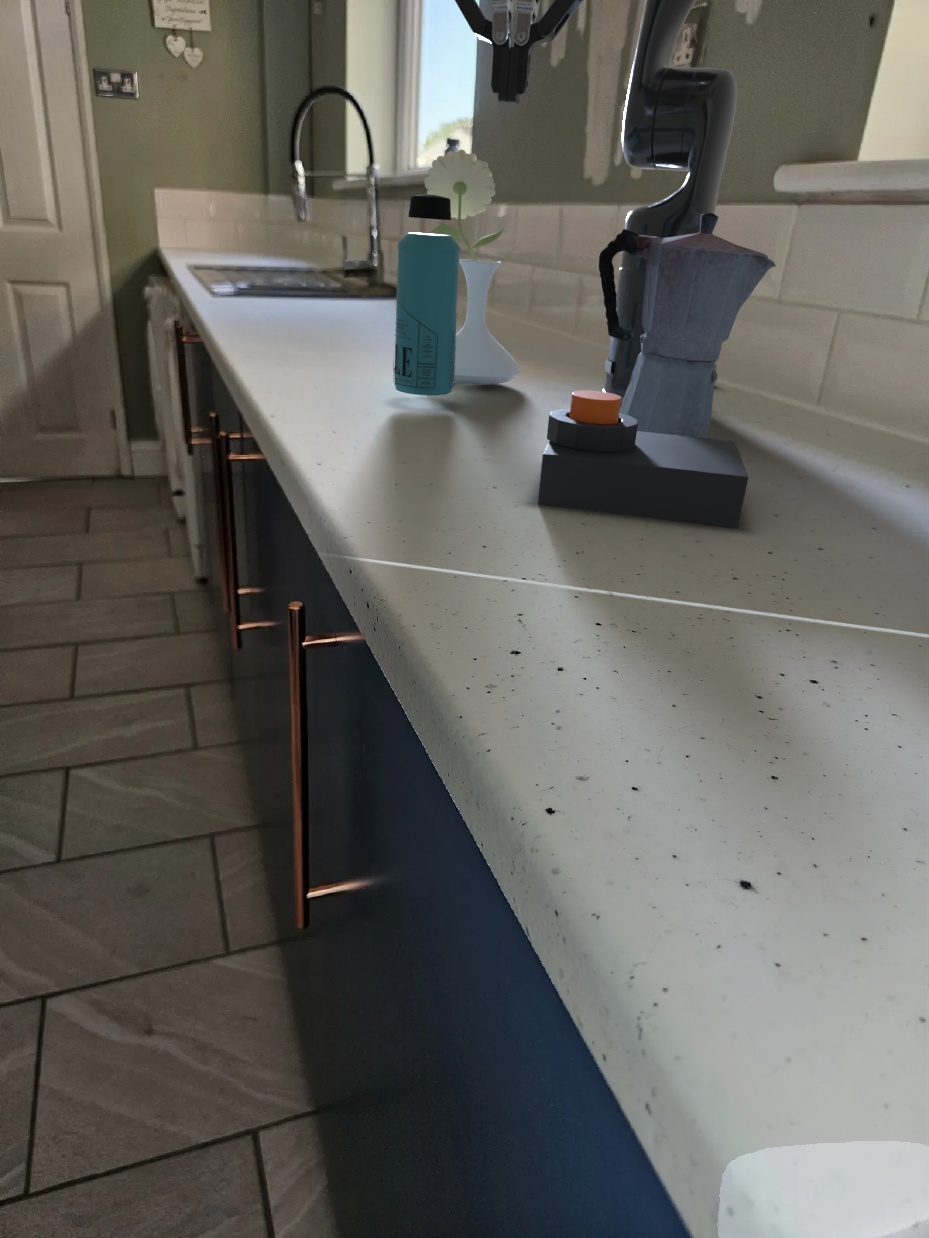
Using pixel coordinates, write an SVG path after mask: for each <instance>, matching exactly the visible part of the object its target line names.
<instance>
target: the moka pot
mask: <svg viewBox="0 0 929 1238" xmlns="http://www.w3.org/2000/svg"><path fill="white" fill-rule="evenodd" d="M718 220H719V216H718V215H717V214H716V213H715V214H713V213H705V214H702V215H701V222H700V232H699V233H695V234H688V235H681V236H675V237H668V238H660V237H653V236H643V235H638V234H636V233H635V232H632V231H630V230H627V229H625V228H623V229H622V231H621V232H620V233H618V234H616V236H615V238H614V240H611V241H609V242H608V244H607V246H606V247H605V248H604V249H602V250H601V252H600V253H599V256H598V271H599V277H600V282H601V289H602V293H603V304H604V308H605V317H606V325H607V333H608V336H610V337H611V336H612V337H614V338H617V339H620V340H624V341H631V339H632V338H633V336H634V333H633V331H631V330H624V329H622V328H621V327H620V326H619V318H618V315H617V311H616V308H617V301H616V296H617V295H616V293H617V290H616V289H617V287H616V283H615V282H616V281H615V267H614V263H613V259H614V258H615V256H616V255H617V254H619V253H622V251H626V252H628V253H629V254H631V255H633V256H636V257H643V258H645V259H646V272H645V286H644V299H643V311H642V323H641V325H642V326H643V328H644V331H645V334H642V335H641V336H640V342H641V353H640V354H639V355H638V358H637V361H636V364H635V367H634V370H633V372H632V375H631V379H630V382H629V385H628V388H627V391H626V394H625V397H624V400H623V403H622V405H620V412H619V413H621V414H626V415H629V416H631V417H633V418H635V419H637V420H638V427H637V431H641V432H651V433H660V434H670V435H679V436H688V437H698V438H707V439H709V435H710V427H711V420H712V410H713V401H714V392H715V384H716V381H717V380H718V373H717V365H716V364H715V363H716V362H717V361H718V360H719V358H720V354H721V350H722V345H723V343H724V342H726V341H727V340H728V339H729V338H730V336H731V332H732V330H733V327H734V323H735V322H736V319H737V316H738V313H739V312H740V310H741V308H742V307H743V305H744V304H745V303H746V302H747V300H748V299H749V297H750V296H751V295H752V293H753V292H754V290H755V289H756V287H757V286H758V284H759V283H760V282H761V281H762V279H763V278H764V277H765V275H766V274H767V272H768V271H769V270H770V269H773V268H774V267H775V268H776V267H777V265H776V263H775V262H774V261H773V259H772V258H769V257H768V255H767V254H766V253H763V252H761V251H758V250H755V249H752V248H749V247H744V246H742V245H738V244H735V243H733V242H731V241H728V240H727V239H724V238H722V237H719V236H717V235H715V234H713V233H714V230H715V227H716V225H717V223H718Z"/></svg>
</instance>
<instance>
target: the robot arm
mask: <svg viewBox="0 0 929 1238" xmlns="http://www.w3.org/2000/svg"><path fill="white" fill-rule="evenodd" d="M490 1H491V3H490V4H491V10H492V13H491V15H492V18H491V19H492V21H491V20H489V19H487V18H486V16H485V15H484V13H483V11H482V9H481V8H480V7H479V4H478V3H477V1H476V0H454V2H455V3H456V5H457V7H458V8H459V10H460V12H461V14H462V15H463V18H464V19H465V21H466V22H467V25H468V26H469V28H470V30H471V31H472V33H473V34H474V35H476V37H477V38H478V39H479V40H480V41H485V42H487V43H490V44H491V45H492V46H491V47H492V67H491V79H490V80H491V81H490V88H491V89H492V93H493V94H494V95H495V96H497V100H498V101H497V102H498V103H500V104H502V105H503V104H504V105H519V104H520V98H521V97H526V96H527V93H528V91H529V83H530V72H531V59H532V52H533V50H534V49H535V48H537V46H539V45H542V44H545V43H551V42H553V40H554V39H556V37H557V36H558V35H559V33H560V32H561V31H562V29H563V28H564V26H566V24H567V22H569V20H570V19H571V18H572V16H573V15H574V14H575V12H576V11H577V9H579V7H580V5H581V4H582V3H583V2H584V0H554V1H553V2H552V4H551V5H550V6H549V7H548V9H547V10H546V12H545V13H544V14H543V16H542V17H541V18H540V20H539V21H537V18H538V15H539V10H540V2H541V0H516V16H515V25H514V30H513V15H514V3H515V2H514V0H490ZM696 2H697V0H644V6H643V12H642V17H641V21H640V27H639V33H638V38H637V43H636V48H635V53H634V58H633V64H632V68H631V73H630V78H629V82H628V83H629V84H628V89H627V94H626V100H625V107H624V111H623V120H622V132H621V146H622V148H621V149H622V153H623V157H624V160H625V163H626V164H627V165H628V166H629V167H631V168H633V169H636V170H637V169H638V170H651V171H652V170H653V171H654V170H655V171H668V172H669V171H670V172H688V173H687V175H686V178H685V181H684V183H683V184H682V185H681V186H680V187H679V188H678V189H676V190H675V191H674V192H672V193H671V194H669V195H667V196H665V197H664V198H662V199H659V200H657V201H655V202H652V203H648V204H644V205H642V206H638V207H635V208H632V209H631V210H630V211H629V212H628V213H627V216H626V218H625V225H624V229H627V230H630V231H632V232H635V233H636V234H638V235H643V236H653V237H660V238H668V237H675V236H681V235H688V234H695V233H699V232H700V222H701V215H702V214H705V213H713V214H715V215H716V211H717V205H718V198H719V194H720V188H721V184H722V177H723V173H724V168H725V164H726V160H727V156H728V150H729V146H730V141H731V138H732V133H733V127H734V123H735V117H736V112H737V111H736V109H737V103H738V102H737V101H738V86H737V81H736V77H735V76H734V74H733V72H732V71H731V70H729V69H727V68H722V67H721V68H720V67H670V65H671V62H672V57H673V55H674V51H675V48H676V45H677V41H678V39H679V36H680V33H681V32H682V28H683V27H684V25H685V22H686V20H687V18H688V16H689V14H690V13H691V10H692V9H693V7H694V5H695V3H696ZM512 44H513V46H512ZM645 272H646V259H645V258H643V257H636V256H633V255H631V254H629V253H628V252H626V251H621V255H620V263H619V272H618V277H617V278H618V279H617V287H616V295H617V296H616V301H617V308H616V311H617V315H618V318H619V326H620V327H621V328H622V329H624V330H631V331H633V333H634V336H633V338H632V339H631V341H624V340H620V339H617V338H614V337H612V336H610V339H609V345H608V347H609V348H608V353H607V355H608V356H607V358H605V363H604V371H605V375H604V376H605V377H604V385H603V389H602V392H608V393H613V394H616V395H619V396H620V397H621V404H620V406H622V403H623V400H624V397H625V394H626V391H627V388H628V385H629V382H630V379H631V375H632V372H633V370H634V367H635V364H636V361H637V358H638V355H639V354H640V353H641V342H640V336H641V335H642V334H645V331H644V328H643V326H642V325H641V323H642V311H643V299H644V286H645Z"/></svg>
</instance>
